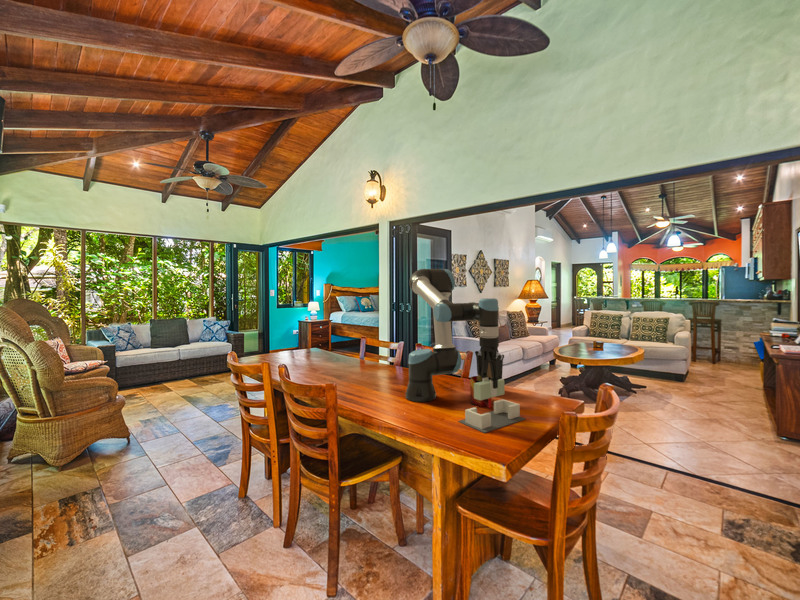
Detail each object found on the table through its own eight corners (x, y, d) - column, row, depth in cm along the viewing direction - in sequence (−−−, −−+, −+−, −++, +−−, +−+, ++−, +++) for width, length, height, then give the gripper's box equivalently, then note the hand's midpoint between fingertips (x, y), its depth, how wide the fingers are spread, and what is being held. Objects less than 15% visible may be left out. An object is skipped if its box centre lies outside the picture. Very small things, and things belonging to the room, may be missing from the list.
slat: (473, 398, 141) (473, 383, 141) (497, 392, 149) (497, 378, 149) (480, 400, 138) (480, 385, 138) (504, 394, 146) (504, 379, 146)
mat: (458, 421, 144) (458, 420, 144) (498, 410, 157) (498, 409, 157) (484, 433, 132) (484, 432, 132) (525, 419, 146) (525, 418, 146)
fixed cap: (465, 422, 143) (465, 409, 142) (474, 419, 145) (474, 407, 145) (481, 429, 135) (481, 416, 135) (491, 426, 138) (491, 413, 138)
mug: (490, 411, 156) (490, 384, 156) (466, 403, 167) (465, 378, 167) (503, 406, 162) (503, 380, 162) (479, 399, 173) (479, 374, 173)
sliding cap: (493, 413, 152) (493, 401, 152) (503, 410, 155) (503, 398, 155) (510, 419, 145) (510, 407, 144) (520, 415, 148) (520, 404, 148)
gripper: (467, 335, 148) (468, 391, 148) (498, 339, 134) (499, 401, 135) (480, 334, 152) (480, 388, 153) (511, 338, 138) (512, 398, 139)
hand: (489, 394), depth 144 cm, fingers closed on slat, 3 cm apart
